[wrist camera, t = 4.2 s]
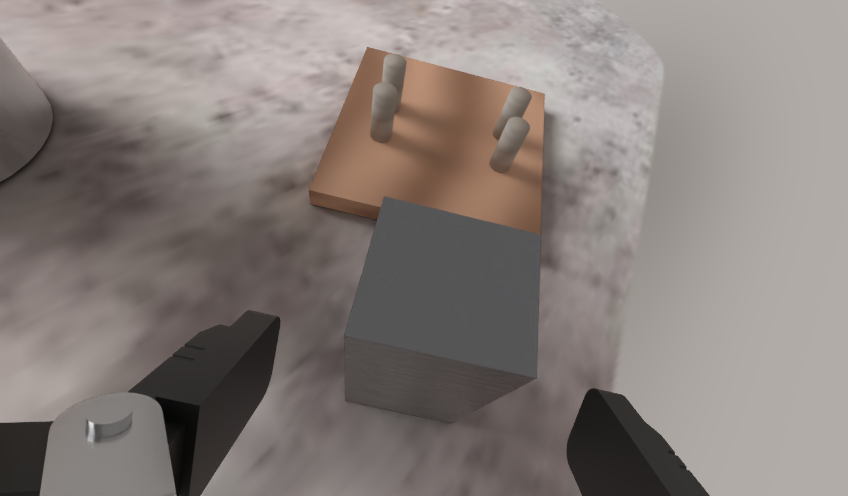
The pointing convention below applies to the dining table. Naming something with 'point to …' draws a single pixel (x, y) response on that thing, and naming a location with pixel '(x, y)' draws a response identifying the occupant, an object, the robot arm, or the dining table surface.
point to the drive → (442, 313)
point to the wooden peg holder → (434, 144)
